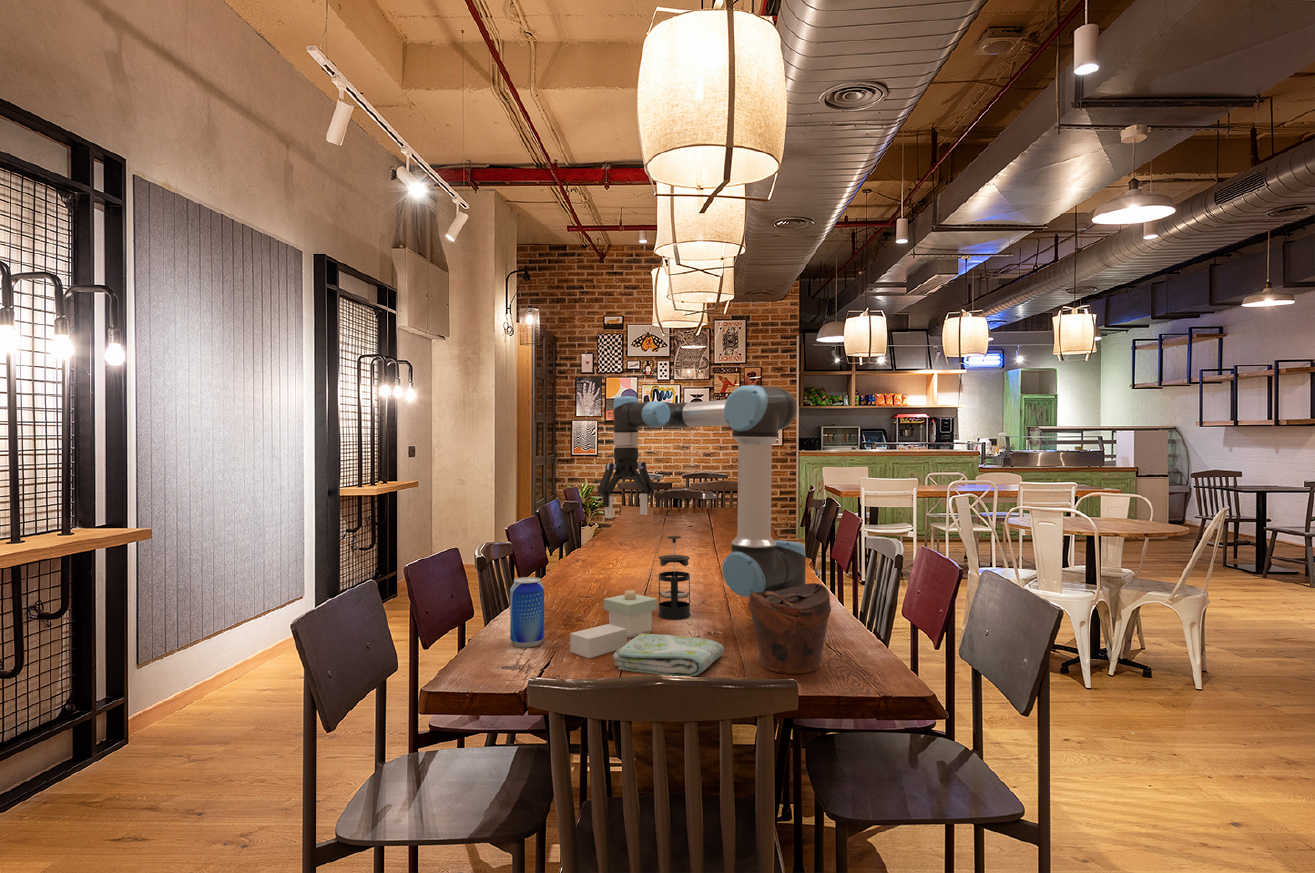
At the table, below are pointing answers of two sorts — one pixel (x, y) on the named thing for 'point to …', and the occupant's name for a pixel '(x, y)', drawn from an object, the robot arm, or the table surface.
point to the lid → (630, 603)
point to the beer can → (527, 612)
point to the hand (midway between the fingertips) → (626, 516)
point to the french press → (674, 588)
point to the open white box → (632, 623)
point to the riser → (598, 640)
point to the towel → (667, 655)
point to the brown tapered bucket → (791, 627)
